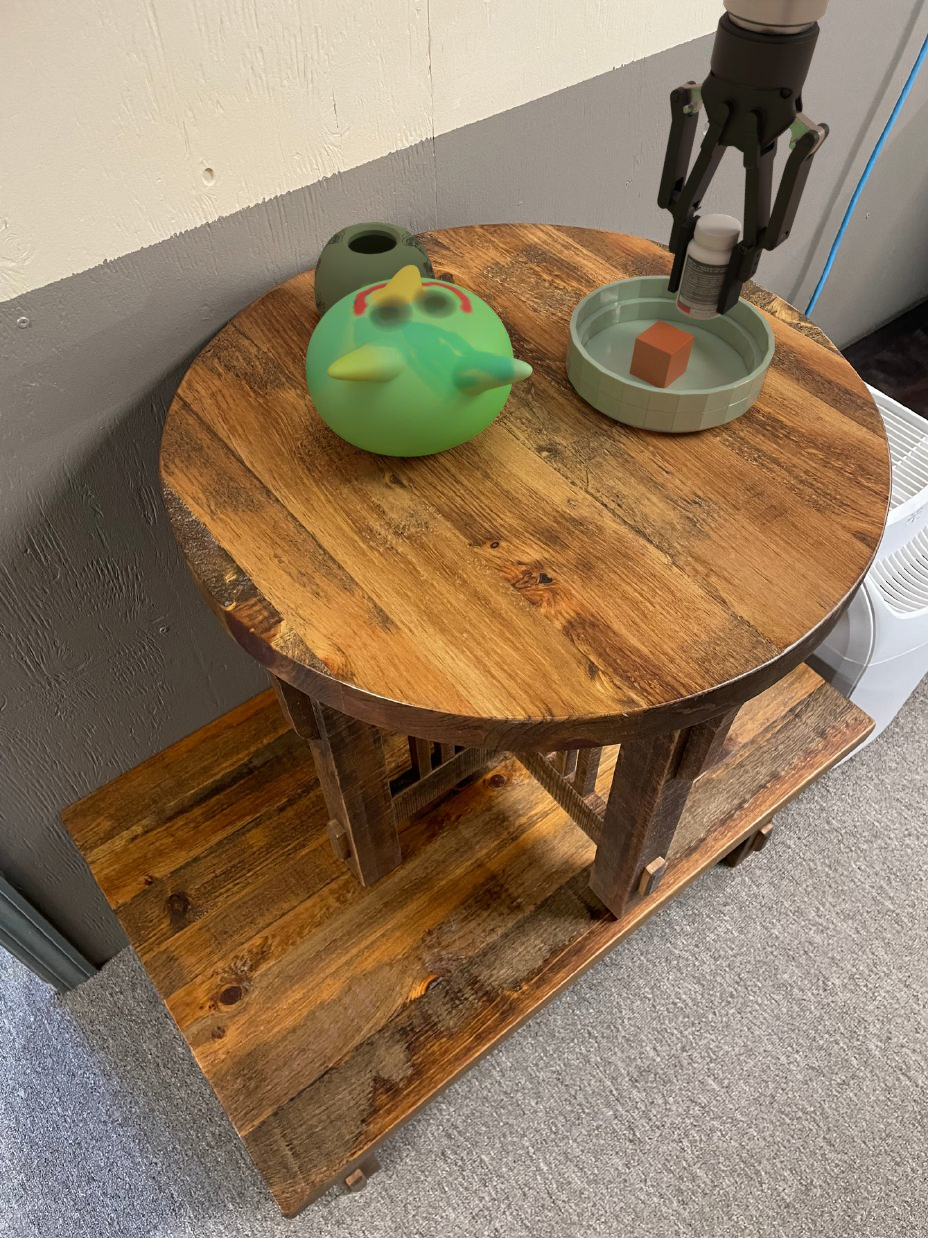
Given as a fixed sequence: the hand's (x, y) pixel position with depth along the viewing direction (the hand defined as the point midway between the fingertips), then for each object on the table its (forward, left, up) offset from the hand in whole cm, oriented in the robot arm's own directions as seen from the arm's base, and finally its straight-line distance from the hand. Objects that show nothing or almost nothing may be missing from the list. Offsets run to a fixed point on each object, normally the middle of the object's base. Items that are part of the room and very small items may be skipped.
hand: (702, 296), depth 83 cm
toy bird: (+12, +28, -6) cm, 31 cm away
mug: (+27, +18, -6) cm, 33 cm away
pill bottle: (0, 0, -1) cm, 1 cm away
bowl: (0, +5, -6) cm, 8 cm away
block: (0, +6, -5) cm, 8 cm away
